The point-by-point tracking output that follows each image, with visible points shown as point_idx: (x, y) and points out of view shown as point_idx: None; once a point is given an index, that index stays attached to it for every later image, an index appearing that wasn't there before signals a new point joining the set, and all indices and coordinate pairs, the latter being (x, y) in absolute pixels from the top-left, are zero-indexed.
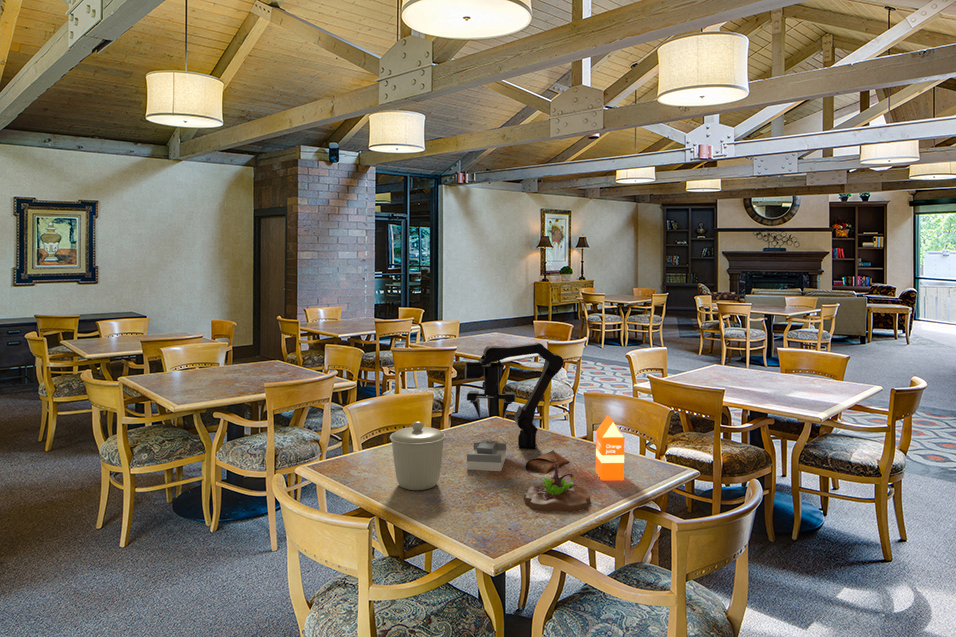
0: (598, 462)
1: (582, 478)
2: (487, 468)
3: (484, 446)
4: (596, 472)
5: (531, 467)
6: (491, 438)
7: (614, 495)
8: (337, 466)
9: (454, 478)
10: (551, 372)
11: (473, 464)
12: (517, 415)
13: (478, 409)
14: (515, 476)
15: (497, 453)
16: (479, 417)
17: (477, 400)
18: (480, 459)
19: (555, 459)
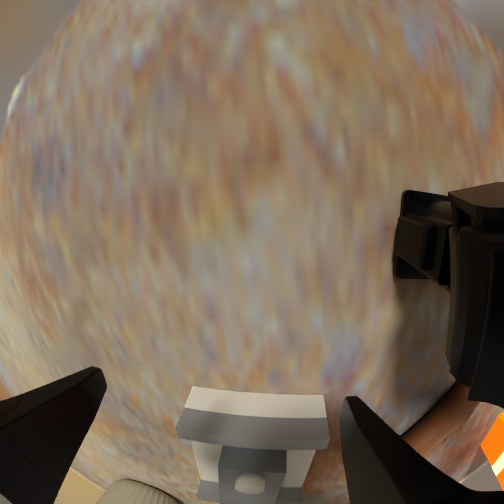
0: (500, 447)
1: (459, 451)
2: None
3: (242, 501)
4: (496, 420)
5: None
6: (261, 489)
7: (459, 477)
8: (2, 393)
9: (196, 490)
10: None
11: None
12: (493, 363)
13: (70, 464)
14: (332, 484)
15: (289, 451)
16: (102, 390)
17: (3, 495)
18: None
19: (455, 431)
